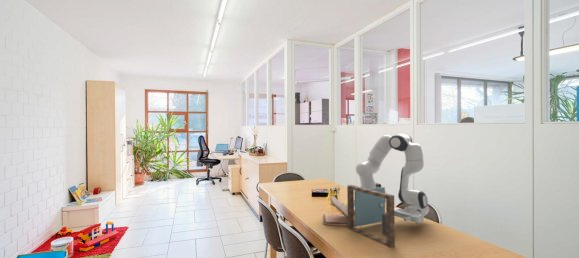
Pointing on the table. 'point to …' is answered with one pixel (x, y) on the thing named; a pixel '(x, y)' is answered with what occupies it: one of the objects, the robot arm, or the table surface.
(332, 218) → the case
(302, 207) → the table surface
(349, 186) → the door frame
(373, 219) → the door
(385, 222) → the dark blue-gray block
